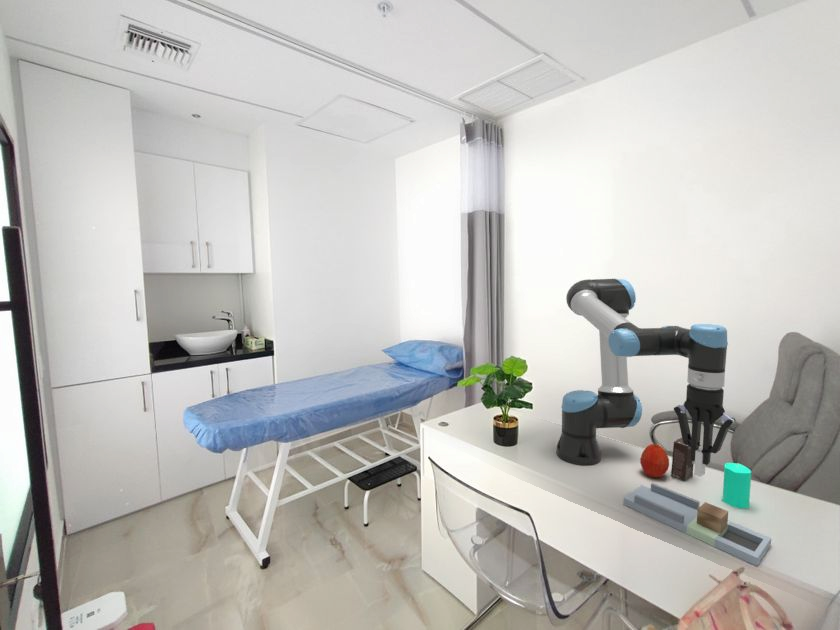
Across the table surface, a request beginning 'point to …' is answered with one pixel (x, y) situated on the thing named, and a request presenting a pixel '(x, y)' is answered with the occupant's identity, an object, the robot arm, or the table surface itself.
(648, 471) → the apple
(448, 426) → the table surface
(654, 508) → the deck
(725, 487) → the candle
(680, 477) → the box
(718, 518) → the block
